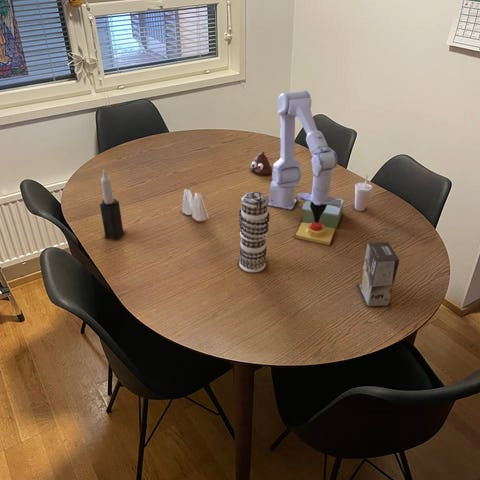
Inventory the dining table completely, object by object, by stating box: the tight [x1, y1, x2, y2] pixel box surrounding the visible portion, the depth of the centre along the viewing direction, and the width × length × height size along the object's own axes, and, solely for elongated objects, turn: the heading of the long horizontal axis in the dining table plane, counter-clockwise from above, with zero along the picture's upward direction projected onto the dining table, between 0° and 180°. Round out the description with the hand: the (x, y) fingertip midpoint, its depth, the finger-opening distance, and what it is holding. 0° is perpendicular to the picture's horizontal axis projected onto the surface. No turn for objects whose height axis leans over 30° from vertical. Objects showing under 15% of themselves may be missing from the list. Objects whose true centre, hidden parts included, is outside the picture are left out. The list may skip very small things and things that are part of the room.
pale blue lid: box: [301, 197, 345, 216], centre depth 169 cm, size 13×11×1 cm
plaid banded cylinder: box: [238, 191, 271, 273], centre depth 141 cm, size 9×9×25 cm
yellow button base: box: [295, 222, 336, 246], centre depth 162 cm, size 12×9×3 cm
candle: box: [99, 169, 124, 241], centre depth 154 cm, size 5×5×25 cm
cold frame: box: [301, 203, 344, 230], centre depth 170 cm, size 12×11×5 cm
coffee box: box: [359, 241, 400, 307], centre depth 132 cm, size 9×6×16 cm
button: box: [311, 221, 322, 231], centre depth 160 cm, size 4×4×2 cm
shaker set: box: [181, 188, 210, 223], centre depth 168 cm, size 12×4×11 cm, turn 40°
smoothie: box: [354, 175, 373, 212], centre depth 174 cm, size 6×6×14 cm
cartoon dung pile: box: [249, 151, 273, 176], centre depth 201 cm, size 10×8×9 cm
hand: (316, 221), depth 159 cm, fingers closed
